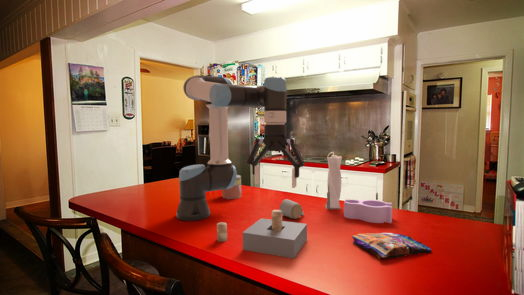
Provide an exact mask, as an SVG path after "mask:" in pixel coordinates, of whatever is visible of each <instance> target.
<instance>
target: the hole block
mask: <svg viewBox="0 0 524 295" xmlns="http://www.w3.org/2000/svg"><path fill="white" fill-rule="evenodd" d="M307 230H308V224H307V223H302V222H295V221H287V220H286V221H285V220H282V231H281V232H280V231H273V230H272V218H271V219H270V218H269V219H268V218H260V219H259V220H257V221H255V223H253V224H252V225H250V226H249V227H248V228H246V229H245V230H244V231H242V250H243V251H249V252H254V253H260V254H267V255H272V256H278V257H282V258H283V257H284V258H289V259H296V257H297V255H298V254H299V253H300V251H301V249H302V248H303V247H304V245H305V244H306V242H307V240H308V231H307Z"/></svg>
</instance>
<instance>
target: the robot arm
mask: <svg viewBox="0 0 524 295" xmlns="http://www.w3.org/2000/svg"><path fill="white" fill-rule="evenodd" d="M287 90H288V89H287V79H286V78H284V77H281V76H269V77H265V78H264V82H263V85H261V86H260V85H259V86H256V85H255V86H254V85H243V84H242V85H237V84H234V82H233V81H232V80H231V79H230V78H228V77H223V76H214V75H202V74H201V75H199V74H197V75H192V76H190V77H188V78H187V79H186V80H185V81H184V83H183V92H184V95H185V96H186V97H187V98H188V99H190V100H193V101H198V102H205V106H206V107H207V108H208V110H209V112H208V114H209V116H208V117H209V144H210V145H209V146H210V147H209V149H210V159H209V160H208V162H207V166H206V165H205V164H202V163H201V164H200V163H199V164H191V165H187V166H184V167H182V168H181V169H180V170H179V172H178V173H179V175H178V181H179V184H178V185H179V203H178V206H177V209H176V219H177V220H180V221H187V222H190V221H191V222H192V221H194V222H195V221H201V220H204V219H207V218H208V217H210V216H211V210H210V206H209V204H208V202H207V196H206V195H207V194H206V193H208V192H215V191H222V190H225V189H230V188H232V187H233V186H234V184H235V182H236V178H237V175H238V174H237V172H238V171H237V168H236V167H235V165H233V164H232V161H231V160H230V158H229V131H228V130H229V129H228V126H229V123H228V120H229V119H228V117H229V116H228V109H229V108H230V107H233V108H236V107H237V108H251V109H260V108H264V110H263V111H264V114H263V115H264V116H263V120H264V123H265V124H264V125H263V128H264V129H263V130H264V131H263V135H264V136H263V138H262V137H256V138H255V141H254V142H255V143H254V145H253V148H252V150H251V153H250V154H249V156H248V159H247V160H246V162H247V165H251V167H252V168H251V169H252V170H251V171H252V172H251V173H252V175H253V176H254V185H258V184H261V178H260V176H261V174H260V170H261V169H260V167H261V165H260V164H259V163H260V162H261V160H262V159H263V158H264V157H265V156H266V154H267V153H268V152H269V151H270V152H277V153H278V152H281V153H282V154H284V156H285V157H286V159H287V160H288V161H289V163H290V164H291V165H292V166H293V167H292V168H291V188H292V189H295V188H296V187H297V178H300V168H302V167H304V166H305V165H306V163H305V160H304V159H303V156H302V155H301V153H300V150H299V148H298V146H297V141H296V140H297V139H296V138H295V137H293V138H287V125H286V123H287V98H288V97H287V93H288V92H287ZM262 144H264V147H263V149H262V150H261V151H260V152H259V150H260V147H261V145H262ZM287 144H288V145H289V146H290V148H291V150H292V152H293V154H294V156H295V157H294V156H293V155H292V153H291V152H290V150H289V149H288V147H287V146H286V145H287ZM258 152H259V153H258ZM257 154H258V155H257ZM256 156H257V157H256Z"/></svg>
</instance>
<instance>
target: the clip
mask: <svg viewBox="0 0 524 295" xmlns="http://www.w3.org/2000/svg"><path fill="white" fill-rule="evenodd" d="M343 217H344V218H346V219H350V220H361V221H364V222H367V223H371V224H372V223H373V224H384V222H385V223H388V224H392V223H393V202H386V201H382V200H379V199H378V200H377V199H363V200H362V199H354V198H352V199H351V198H348V199H347V198H346V199H345V200H344V201H343Z"/></svg>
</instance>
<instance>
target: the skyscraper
mask: <svg viewBox="0 0 524 295" xmlns="http://www.w3.org/2000/svg"><path fill="white" fill-rule="evenodd" d="M330 154H332V155H331V156H330ZM326 158H327V164H328V173H327V192H326V197H327V198H326V204H324V207H325V209H326V210H341V209H342V208H341V205H340V197H341V192H342V173H341V164H342V159H343V156H342V155H335V152H334V151H331V152H329V153H328V155H327V157H326Z"/></svg>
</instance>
